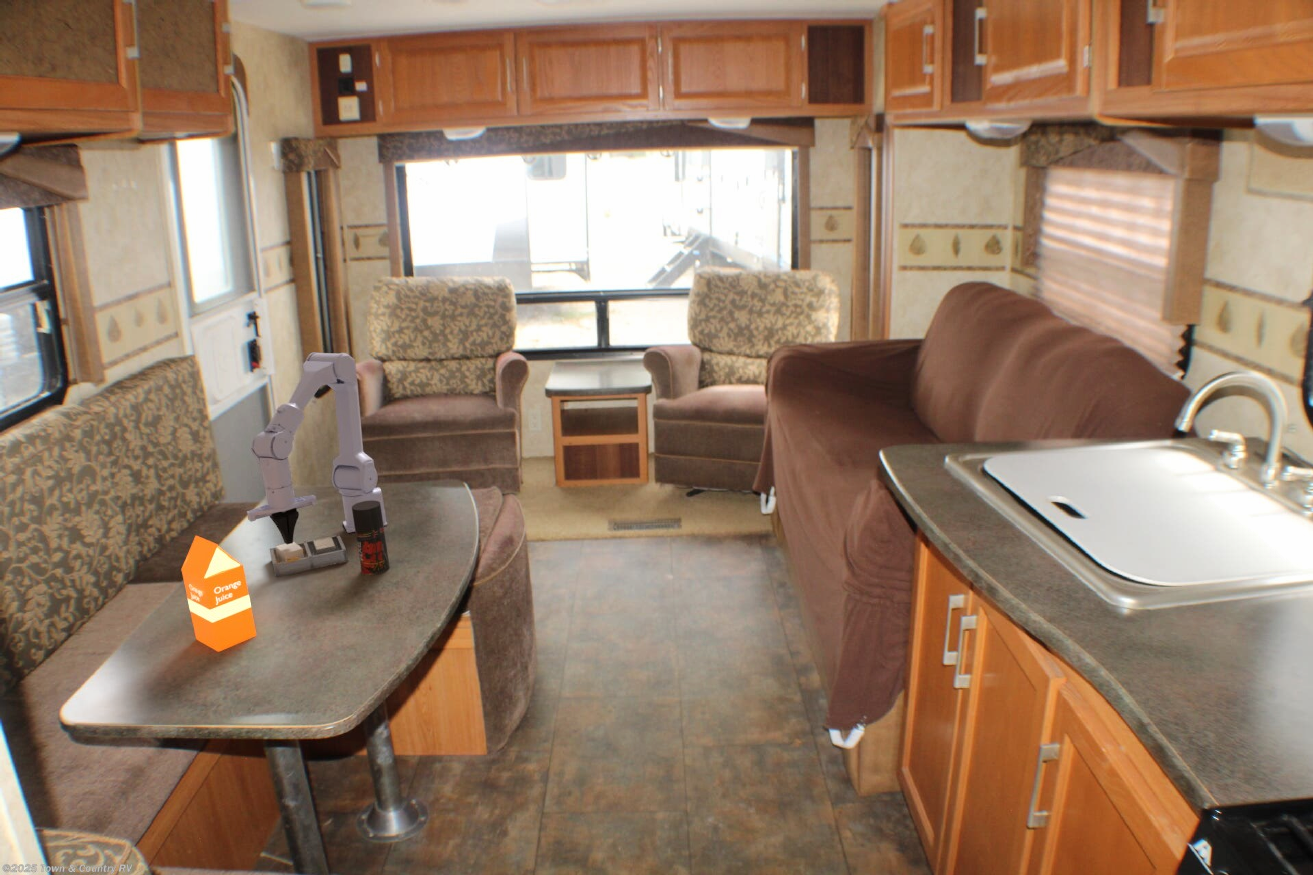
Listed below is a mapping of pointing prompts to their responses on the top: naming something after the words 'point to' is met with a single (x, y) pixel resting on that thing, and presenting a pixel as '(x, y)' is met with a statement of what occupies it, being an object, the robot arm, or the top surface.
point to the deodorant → (370, 537)
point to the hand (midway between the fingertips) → (288, 542)
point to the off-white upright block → (289, 552)
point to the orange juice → (217, 596)
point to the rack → (312, 556)
